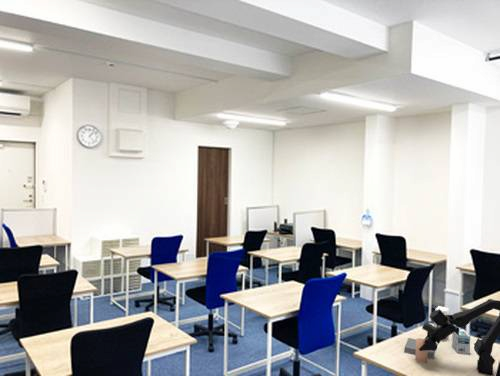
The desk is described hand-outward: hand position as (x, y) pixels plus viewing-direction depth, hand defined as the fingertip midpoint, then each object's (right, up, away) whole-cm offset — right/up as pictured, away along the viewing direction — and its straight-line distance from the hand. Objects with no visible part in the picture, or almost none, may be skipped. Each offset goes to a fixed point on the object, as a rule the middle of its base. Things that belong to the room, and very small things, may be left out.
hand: (420, 346), depth 210 cm
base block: (+5, -7, +12) cm, 15 cm away
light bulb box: (+30, -8, +14) cm, 34 cm away
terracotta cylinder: (0, -7, 0) cm, 7 cm away
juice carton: (+26, -7, +30) cm, 41 cm away
